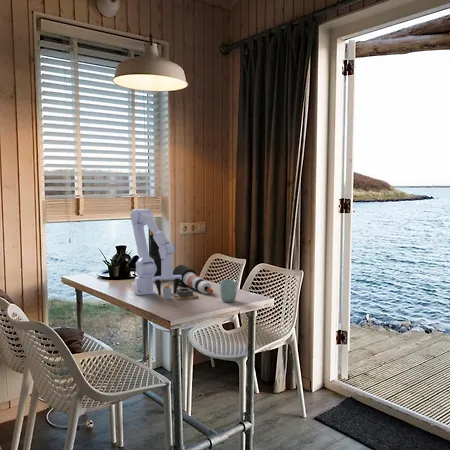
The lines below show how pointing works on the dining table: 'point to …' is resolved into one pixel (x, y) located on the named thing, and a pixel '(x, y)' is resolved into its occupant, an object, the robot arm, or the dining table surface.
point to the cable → (192, 279)
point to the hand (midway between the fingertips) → (167, 294)
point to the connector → (166, 292)
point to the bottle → (155, 254)
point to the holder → (184, 294)
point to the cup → (228, 290)
